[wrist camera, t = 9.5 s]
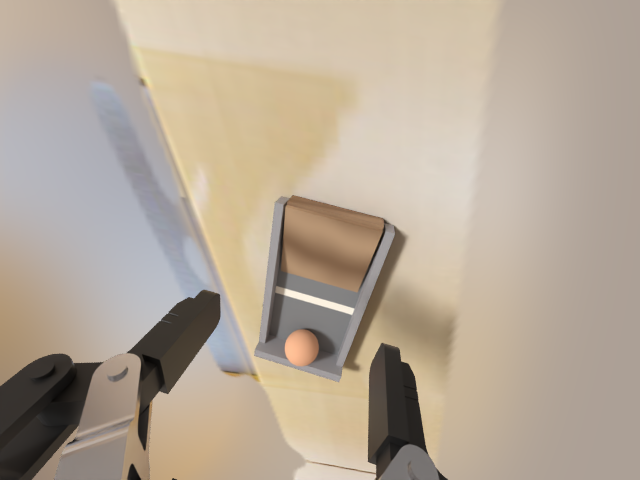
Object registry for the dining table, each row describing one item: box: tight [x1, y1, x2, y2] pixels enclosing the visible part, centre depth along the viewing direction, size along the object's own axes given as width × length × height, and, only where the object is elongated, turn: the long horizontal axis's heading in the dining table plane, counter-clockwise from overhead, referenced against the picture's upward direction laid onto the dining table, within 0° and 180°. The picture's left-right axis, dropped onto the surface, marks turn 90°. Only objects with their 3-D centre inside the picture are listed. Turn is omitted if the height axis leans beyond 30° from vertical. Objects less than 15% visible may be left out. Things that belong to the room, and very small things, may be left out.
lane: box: [254, 196, 395, 382], centre depth 26 cm, size 20×11×3 cm, turn 169°
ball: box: [285, 329, 319, 366], centre depth 29 cm, size 4×4×4 cm
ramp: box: [281, 195, 384, 292], centre depth 24 cm, size 9×9×3 cm
